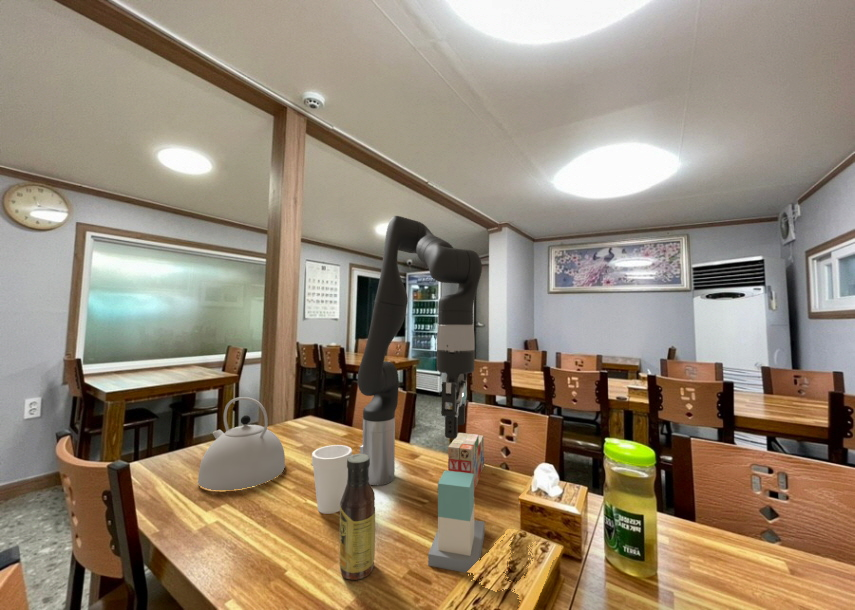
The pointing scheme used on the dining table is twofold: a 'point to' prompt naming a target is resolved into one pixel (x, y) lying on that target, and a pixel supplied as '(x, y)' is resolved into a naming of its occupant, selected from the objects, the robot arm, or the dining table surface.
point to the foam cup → (330, 476)
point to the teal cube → (456, 495)
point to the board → (458, 560)
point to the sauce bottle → (357, 521)
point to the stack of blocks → (467, 455)
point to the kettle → (242, 455)
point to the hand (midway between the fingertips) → (455, 430)
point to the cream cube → (456, 535)
